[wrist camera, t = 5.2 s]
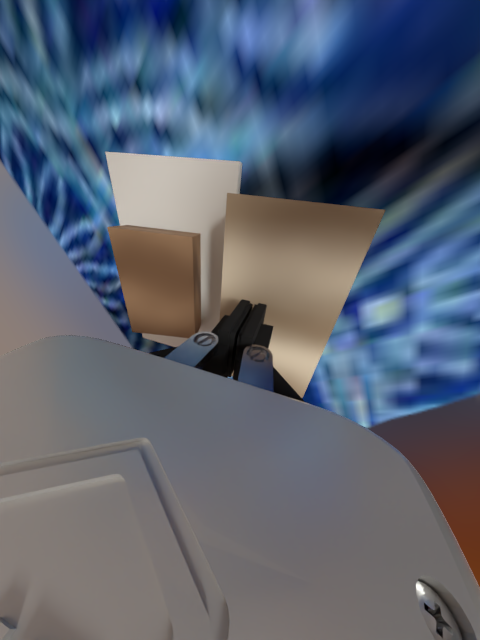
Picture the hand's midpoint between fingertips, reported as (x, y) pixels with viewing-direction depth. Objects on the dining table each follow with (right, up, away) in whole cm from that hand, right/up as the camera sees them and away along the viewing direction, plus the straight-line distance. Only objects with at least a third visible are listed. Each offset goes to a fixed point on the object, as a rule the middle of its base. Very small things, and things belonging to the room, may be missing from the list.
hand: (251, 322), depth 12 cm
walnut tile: (-8, +3, +3) cm, 9 cm away
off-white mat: (-7, +5, +6) cm, 10 cm away
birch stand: (+3, +2, +4) cm, 5 cm away
